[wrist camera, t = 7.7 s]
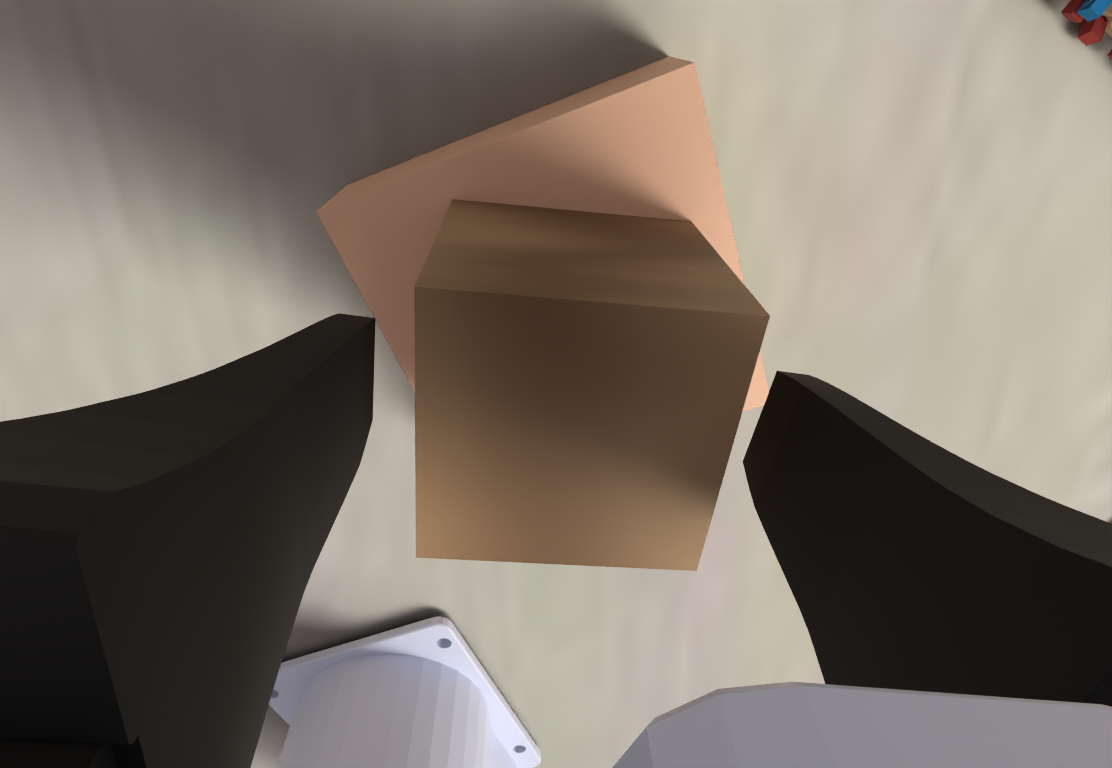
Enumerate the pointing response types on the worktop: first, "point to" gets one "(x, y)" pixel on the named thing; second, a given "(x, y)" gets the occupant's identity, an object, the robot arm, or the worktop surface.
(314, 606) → the worktop surface
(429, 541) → the walnut block
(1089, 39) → the woven mat
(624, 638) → the worktop surface
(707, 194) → the base block
